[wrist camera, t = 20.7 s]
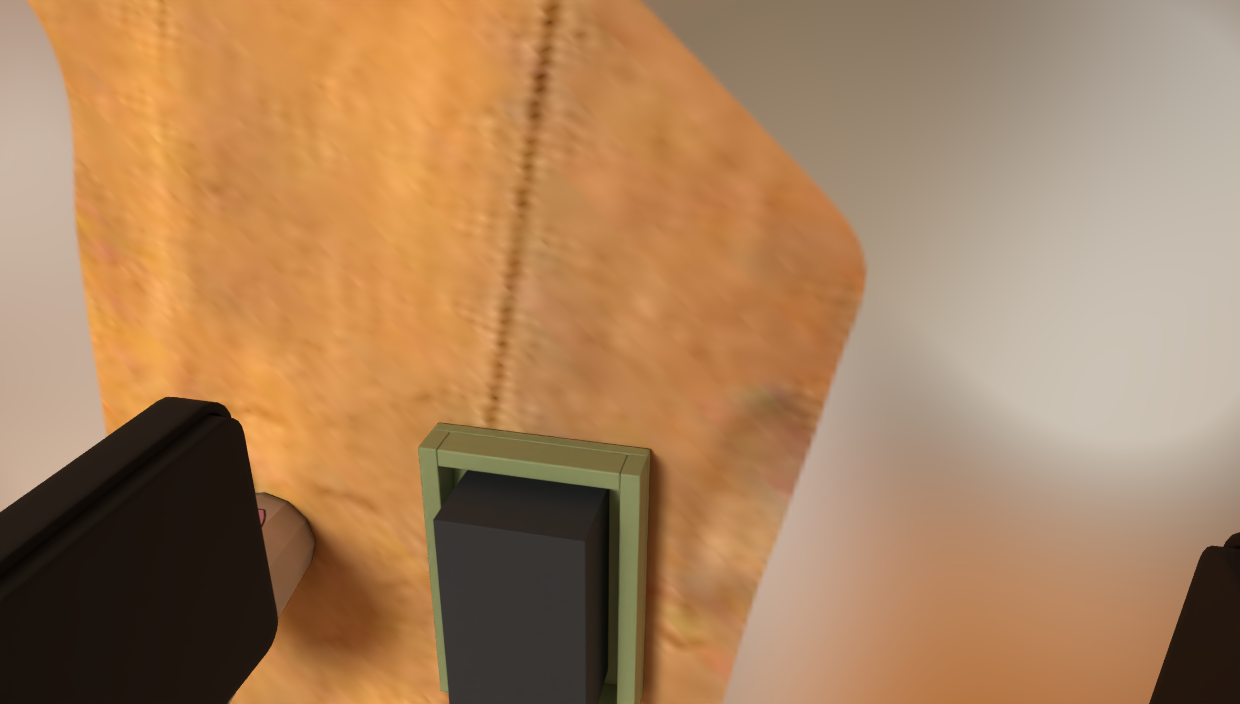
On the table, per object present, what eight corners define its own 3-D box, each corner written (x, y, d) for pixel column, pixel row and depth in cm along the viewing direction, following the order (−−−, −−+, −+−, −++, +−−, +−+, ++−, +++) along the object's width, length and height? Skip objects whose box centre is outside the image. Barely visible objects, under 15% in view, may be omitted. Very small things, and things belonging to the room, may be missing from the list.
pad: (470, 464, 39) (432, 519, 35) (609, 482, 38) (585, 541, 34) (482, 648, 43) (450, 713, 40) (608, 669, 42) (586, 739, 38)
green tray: (457, 659, 45) (440, 691, 43) (437, 422, 39) (417, 447, 37) (643, 692, 43) (634, 727, 41) (650, 448, 37) (640, 476, 35)
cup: (342, 478, 41) (106, 744, 28) (352, 613, 45) (146, 907, 32) (185, 447, 43) (-112, 688, 29) (206, 582, 46) (-51, 851, 33)
